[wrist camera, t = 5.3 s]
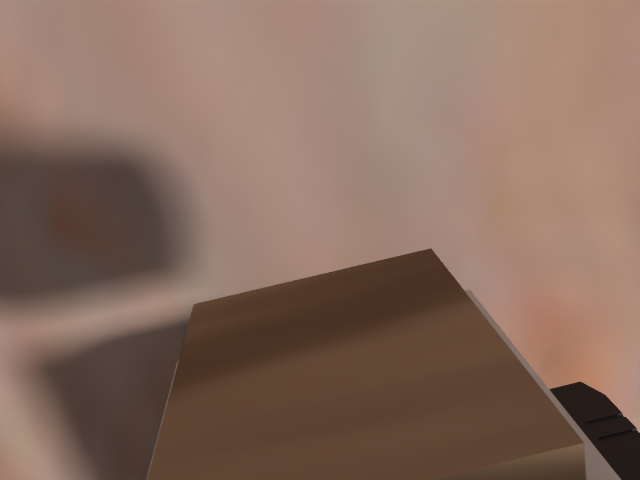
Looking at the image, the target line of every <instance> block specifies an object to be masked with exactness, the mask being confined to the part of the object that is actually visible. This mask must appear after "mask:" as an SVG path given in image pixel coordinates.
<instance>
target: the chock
mask: <svg viewBox="0 0 640 480" xmlns="http://www.w3.org/2000/svg"><path fill="white" fill-rule="evenodd" d="M147 480H586V467H585V447H584V442H583V441H582V439H581V438H580V437H579V435H578V434H577V433H576V432H575V430H574V429H573V428H572V427H571V425H570V424H569V423H568V422H567V420H566V419H565V418H564V416H563V415H562V414H561V413H560V411H559V410H558V409H557V408H556V406H555V405H554V404H553V402H552V401H551V400H550V399H549V397H548V396H547V395H546V394H545V392H544V391H543V390H542V389H541V387H540V386H539V385H538V383H537V382H536V381H535V380H534V378H533V377H532V376H531V375H530V373H529V372H528V371H527V370H526V368H525V367H524V366H523V364H522V363H521V362H520V361H519V359H518V358H517V357H516V356H515V354H514V353H513V352H512V351H511V349H510V348H509V347H508V345H507V344H506V343H505V342H504V340H503V339H502V338H501V337H500V335H499V334H498V333H497V331H496V330H495V329H494V328H493V326H492V325H491V324H490V323H489V321H488V320H487V319H486V318H485V316H484V315H483V314H482V312H481V311H480V310H479V309H478V307H477V306H476V305H475V304H474V302H473V301H472V300H471V299H470V297H469V296H468V295H467V293H466V292H465V291H464V290H463V288H462V287H461V286H460V285H459V283H458V282H457V281H456V279H455V278H454V277H453V276H452V274H451V273H450V272H449V271H448V269H447V268H446V267H445V266H444V264H443V263H442V262H441V260H440V259H439V258H438V257H437V255H436V254H435V253H434V252H433V250H432V249H427V250H423V251H418V252H414V253H410V254H406V255H401V256H397V257H393V258H389V259H384V260H380V261H376V262H372V263H367V264H363V265H359V266H355V267H350V268H346V269H342V270H338V271H333V272H329V273H325V274H321V275H316V276H312V277H308V278H304V279H299V280H295V281H291V282H287V283H282V284H278V285H274V286H270V287H265V288H261V289H257V290H253V291H248V292H244V293H240V294H236V295H232V296H227V297H223V298H219V299H215V300H210V301H206V302H202V303H198V304H194V306H193V310H192V313H191V317H190V321H189V325H188V328H187V332H186V336H185V340H184V343H183V347H182V351H181V355H180V358H179V362H178V366H177V370H176V373H175V377H174V381H173V385H172V388H171V392H170V396H169V400H168V403H167V407H166V411H165V415H164V418H163V422H162V426H161V430H160V433H159V437H158V441H157V445H156V448H155V452H154V456H153V460H152V463H151V467H150V471H149V475H148V478H147Z"/></svg>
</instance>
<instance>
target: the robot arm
mask: <svg viewBox="0 0 640 480" xmlns="http://www.w3.org/2000/svg"><path fill="white" fill-rule="evenodd" d="M465 292H466V293H467V295H468V296H469V297H470V299H471V300H472V301H473V302H474V304H475V305H476V306H477V307H478V309H479V310H480V311H481V312H482V314H483V315H484V316H485V318H486V319H487V320H488V321H489V323H490V324H491V325H492V326H493V328H494V329H495V330H496V331H497V333H498V334H499V335H500V337H501V338H502V339H503V340H504V342H505V343H506V344H507V345H508V347H509V348H510V349H511V351H512V352H513V353H514V354H515V356H516V357H517V358H518V359H519V361H520V362H521V363H522V364H523V366H524V367H525V368H526V370H527V371H528V372H529V373H530V375H531V376H532V377H533V378H534V380H535V381H536V382H537V383H538V385H539V386H540V387H541V389H542V390H543V391H544V392H545V394H546V395H547V396H548V397H549V399H550V400H551V401H552V402H553V404H554V405H555V406H556V408H557V409H558V410H559V411H560V413H561V414H562V415H563V416H564V418H565V419H566V420H567V422H568V423H569V424H570V425H571V427H572V428H573V429H574V430H575V432H576V433H577V434H578V435H579V437H580V438H581V439H582V441H583V442H584V447H585V467H586V480H640V433H638V431H637V428H636V427H635V426H634V425H633V424H632V423H631V422H630V421H629V420H628V419H627V418H626V417H623V414H622V412H621V411H620V410H619V409H618V408H617V407H616V406H615V405H614V404H613V403H612V402H611V401H610V400H609V399H608V397H607V396H606V395H604V394H602V393H601V392H599V391H597V390H595V389H593V388H591V387H589V386H588V385H586V384H584V383H582V382H577V383H573V384H569V385H565V386H561V387H557V388H553V389H548V387H547V386H546V385H545V384H544V382H543V381H542V380H541V378H540V377H539V376H538V375H537V373H536V372H535V371H534V370H533V368H532V367H531V366H530V365H529V363H528V362H527V361H526V360H525V358H524V357H523V356H522V355H521V353H520V352H519V351H518V350H517V348H516V347H515V346H514V345H513V343H512V342H511V341H510V340H509V338H508V337H507V336H506V335H505V333H504V332H503V331H502V330H501V328H500V327H499V326H498V325H497V323H496V322H495V321H494V320H493V318H492V317H491V316H490V315H489V313H488V312H487V311H486V310H485V308H484V307H483V306H482V304H481V303H480V302H479V301H478V299H477V298H476V297H475V296H474V294H473V293H472V292H471V291H470V290H468V291H465ZM178 362H179V360H177V363H176V367H175V371H174V375H173V379H172V382H171V386H170V390H169V394H168V398H167V401H166V405H165V409H164V413H163V417H162V421H161V424H160V428H159V432H158V436H157V440H156V443H155V447H154V451H153V455H152V459H151V462H150V466H149V470H148V474H147V478H148V475H149V471H150V467H151V463H152V460H153V456H154V452H155V448H156V445H157V441H158V437H159V433H160V430H161V426H162V422H163V418H164V415H165V411H166V407H167V403H168V400H169V396H170V392H171V388H172V385H173V381H174V377H175V373H176V370H177V366H178ZM147 478H146V480H147Z"/></svg>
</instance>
